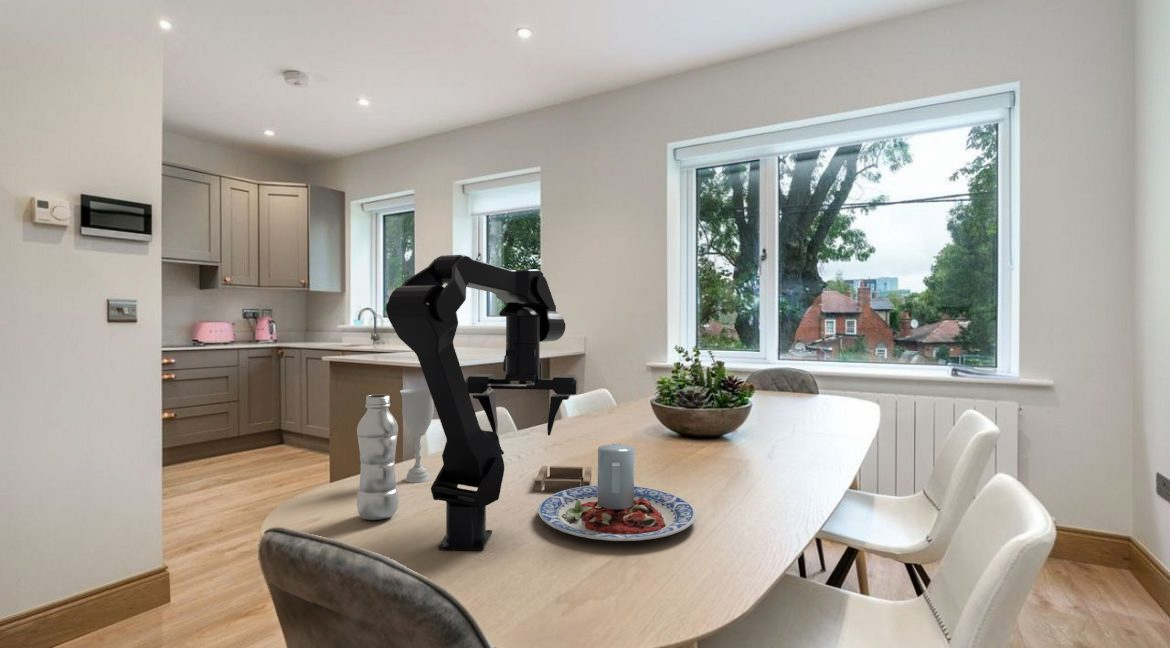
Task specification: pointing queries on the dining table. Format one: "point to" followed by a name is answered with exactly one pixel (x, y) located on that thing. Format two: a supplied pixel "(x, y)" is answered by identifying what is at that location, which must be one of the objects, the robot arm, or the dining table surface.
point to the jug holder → (562, 473)
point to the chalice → (417, 426)
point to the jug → (616, 476)
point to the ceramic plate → (617, 514)
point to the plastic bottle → (377, 460)
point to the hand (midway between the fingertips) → (522, 434)
